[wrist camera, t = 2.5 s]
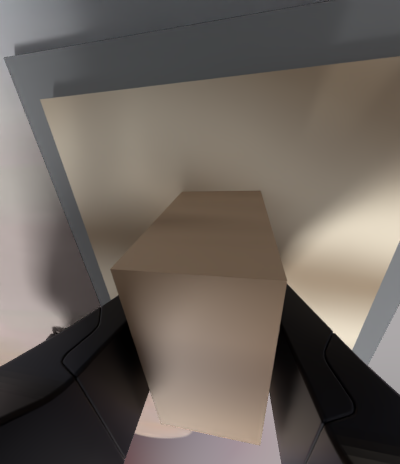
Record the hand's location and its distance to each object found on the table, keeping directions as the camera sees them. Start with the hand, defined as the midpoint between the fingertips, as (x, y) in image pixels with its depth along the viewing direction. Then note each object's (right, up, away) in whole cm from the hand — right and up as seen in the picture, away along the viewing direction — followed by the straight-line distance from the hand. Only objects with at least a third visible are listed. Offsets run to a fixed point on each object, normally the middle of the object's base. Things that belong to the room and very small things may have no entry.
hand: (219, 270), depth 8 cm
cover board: (0, +1, +1) cm, 2 cm away
